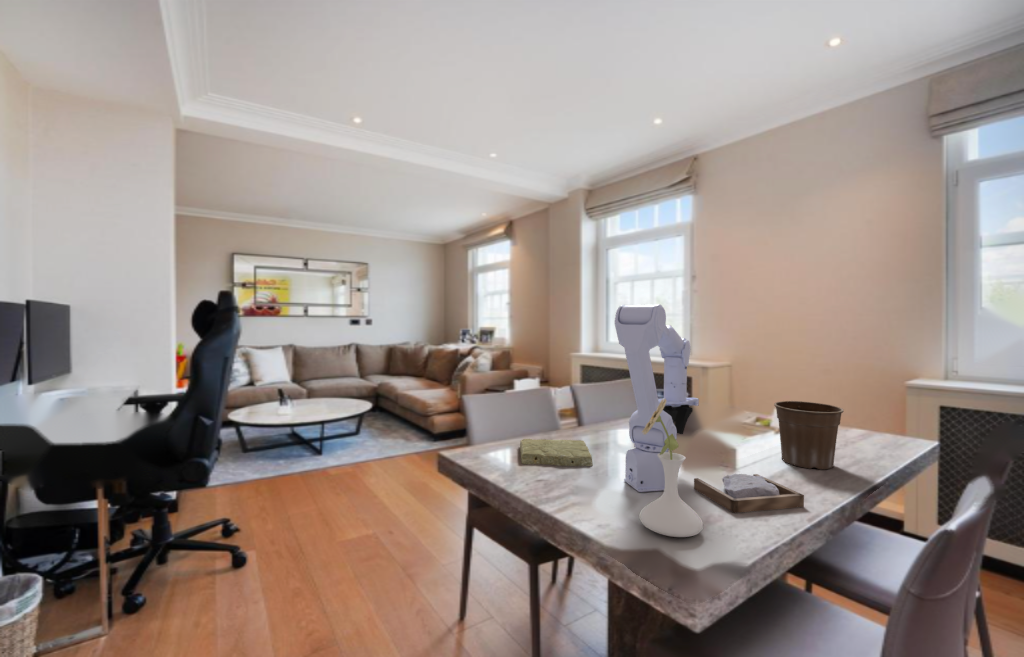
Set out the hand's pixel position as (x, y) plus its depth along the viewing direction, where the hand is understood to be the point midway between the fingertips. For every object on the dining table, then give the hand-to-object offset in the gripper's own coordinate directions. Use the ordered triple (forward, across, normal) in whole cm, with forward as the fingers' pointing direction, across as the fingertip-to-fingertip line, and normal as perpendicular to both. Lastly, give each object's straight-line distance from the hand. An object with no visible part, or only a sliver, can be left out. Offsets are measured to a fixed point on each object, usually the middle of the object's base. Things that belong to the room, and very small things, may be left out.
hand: (674, 433), depth 119 cm
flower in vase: (+10, -26, -28) cm, 39 cm away
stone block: (+10, +3, -20) cm, 23 cm away
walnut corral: (+9, +1, -21) cm, 23 cm away
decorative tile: (+10, -25, +22) cm, 34 cm away
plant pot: (+10, +39, -9) cm, 41 cm away
